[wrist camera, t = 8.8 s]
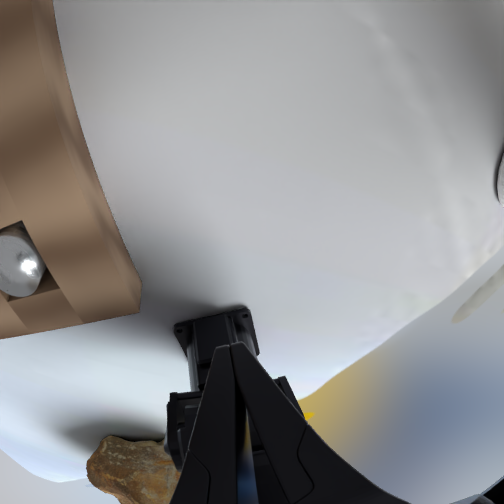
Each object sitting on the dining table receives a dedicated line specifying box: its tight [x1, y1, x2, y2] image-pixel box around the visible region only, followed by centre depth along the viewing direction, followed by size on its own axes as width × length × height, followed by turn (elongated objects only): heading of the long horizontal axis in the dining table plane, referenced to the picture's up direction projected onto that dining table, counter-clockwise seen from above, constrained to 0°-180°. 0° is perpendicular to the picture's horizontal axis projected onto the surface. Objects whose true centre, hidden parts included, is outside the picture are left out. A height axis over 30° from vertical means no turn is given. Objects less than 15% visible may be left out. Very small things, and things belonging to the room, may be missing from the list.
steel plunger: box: [0, 220, 47, 297], centre depth 16 cm, size 4×4×3 cm
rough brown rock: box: [86, 435, 181, 504], centre depth 34 cm, size 23×17×15 cm
